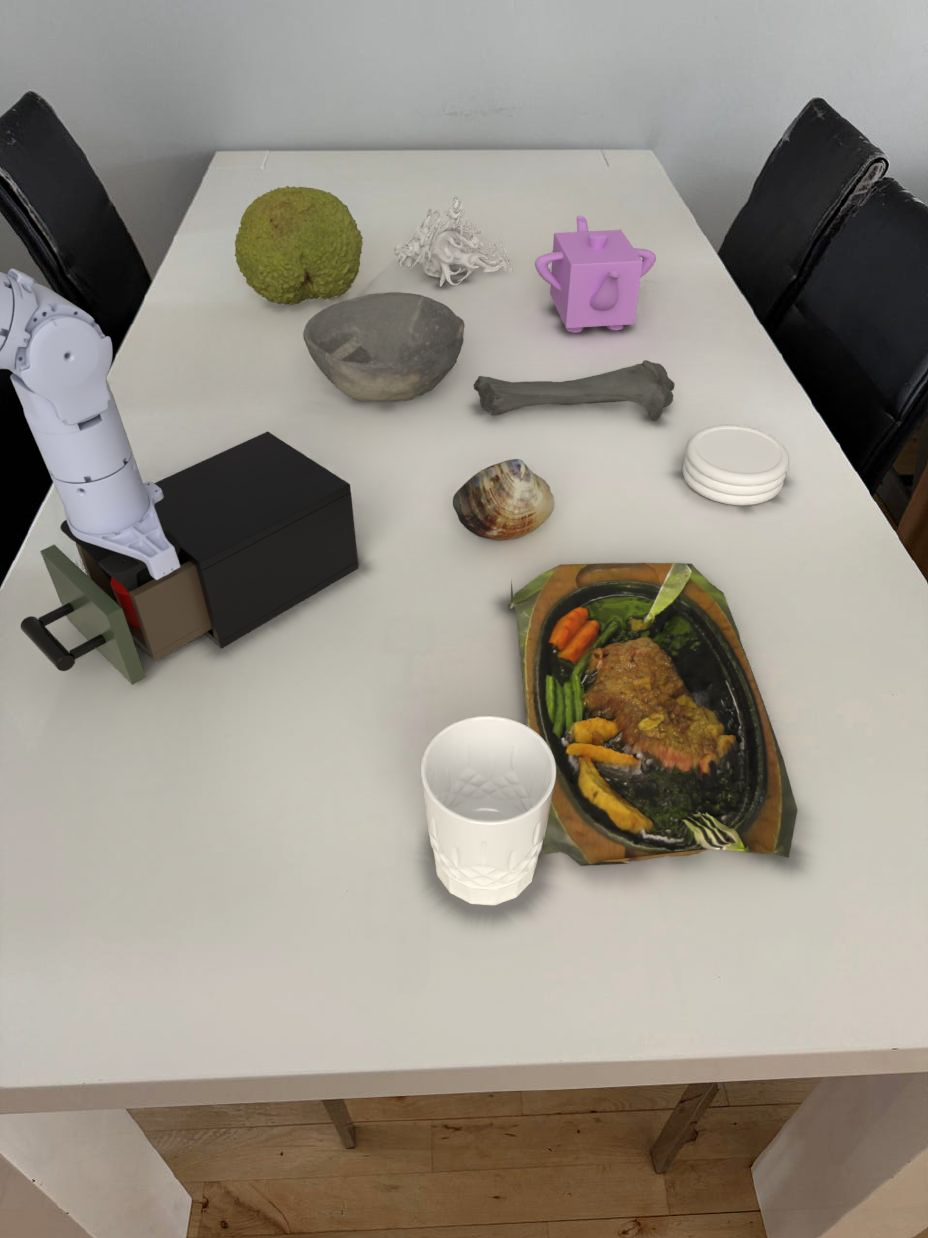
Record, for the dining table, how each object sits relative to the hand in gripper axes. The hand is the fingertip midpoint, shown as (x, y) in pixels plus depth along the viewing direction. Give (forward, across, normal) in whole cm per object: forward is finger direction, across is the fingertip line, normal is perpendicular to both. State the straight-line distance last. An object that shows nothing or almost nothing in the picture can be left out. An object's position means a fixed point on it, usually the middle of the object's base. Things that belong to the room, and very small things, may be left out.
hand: (144, 599), depth 73 cm
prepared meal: (+5, -33, -22) cm, 40 cm away
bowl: (+5, +17, -40) cm, 44 cm away
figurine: (+7, +34, -68) cm, 76 cm away
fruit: (+6, +43, -49) cm, 66 cm away
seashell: (+5, -12, -30) cm, 32 cm away
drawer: (+3, 0, 0) cm, 3 cm away
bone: (+6, -2, -51) cm, 52 cm away
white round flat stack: (+6, -21, -53) cm, 57 cm away
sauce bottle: (+1, 0, 0) cm, 1 cm away
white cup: (+4, -35, -4) cm, 35 cm away
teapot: (+7, +12, -71) cm, 72 cm away
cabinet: (+4, 0, -10) cm, 11 cm away
